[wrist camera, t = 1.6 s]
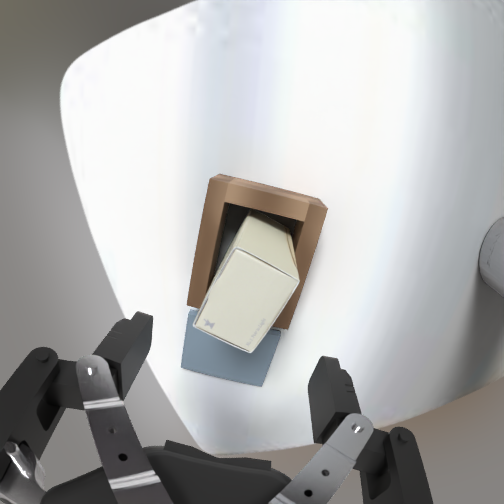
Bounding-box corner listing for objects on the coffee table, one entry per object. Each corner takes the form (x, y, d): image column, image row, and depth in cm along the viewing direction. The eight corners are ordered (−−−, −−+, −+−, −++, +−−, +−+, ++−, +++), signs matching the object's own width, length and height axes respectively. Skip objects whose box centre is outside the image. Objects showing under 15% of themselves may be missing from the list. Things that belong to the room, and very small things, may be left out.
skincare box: (259, 280, 30) (251, 358, 19) (219, 259, 30) (189, 328, 18) (291, 226, 28) (304, 282, 17) (250, 203, 28) (233, 245, 16)
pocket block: (319, 198, 27) (327, 208, 23) (286, 305, 31) (287, 329, 27) (219, 173, 27) (209, 178, 23) (197, 283, 31) (186, 305, 26)
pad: (280, 331, 32) (280, 336, 31) (261, 381, 35) (261, 386, 34) (190, 309, 32) (188, 314, 31) (182, 362, 34) (180, 367, 34)
